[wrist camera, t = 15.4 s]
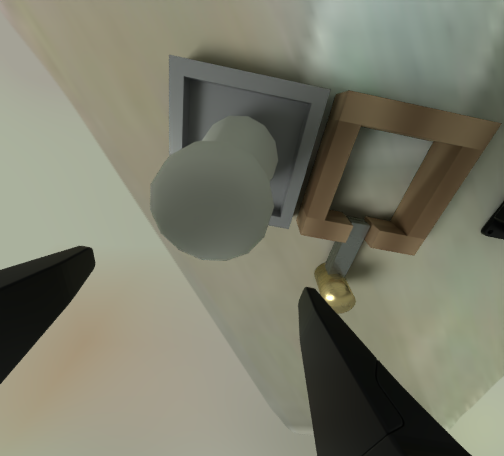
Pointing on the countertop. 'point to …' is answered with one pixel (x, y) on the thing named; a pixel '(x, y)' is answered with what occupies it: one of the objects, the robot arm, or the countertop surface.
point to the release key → (341, 268)
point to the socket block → (423, 184)
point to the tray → (256, 107)
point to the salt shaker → (217, 191)
